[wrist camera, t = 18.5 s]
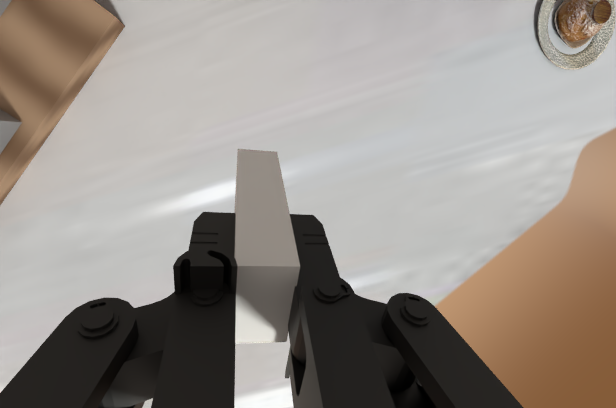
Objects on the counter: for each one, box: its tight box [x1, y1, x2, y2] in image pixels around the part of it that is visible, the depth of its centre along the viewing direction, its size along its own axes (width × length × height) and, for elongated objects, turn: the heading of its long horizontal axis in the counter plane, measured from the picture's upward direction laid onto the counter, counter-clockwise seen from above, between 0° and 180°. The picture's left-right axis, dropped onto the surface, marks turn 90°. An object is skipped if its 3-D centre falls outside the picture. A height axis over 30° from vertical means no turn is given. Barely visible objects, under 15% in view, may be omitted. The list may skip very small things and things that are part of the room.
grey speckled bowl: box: [537, 0, 615, 70], centre depth 45 cm, size 12×12×5 cm
